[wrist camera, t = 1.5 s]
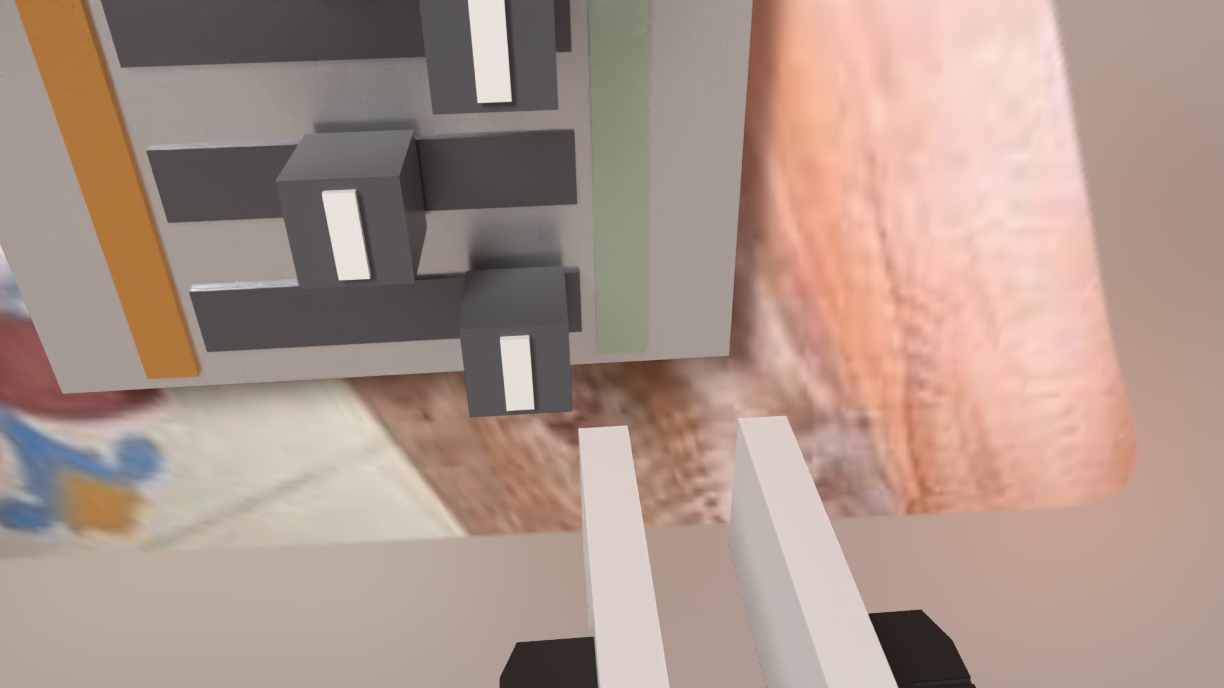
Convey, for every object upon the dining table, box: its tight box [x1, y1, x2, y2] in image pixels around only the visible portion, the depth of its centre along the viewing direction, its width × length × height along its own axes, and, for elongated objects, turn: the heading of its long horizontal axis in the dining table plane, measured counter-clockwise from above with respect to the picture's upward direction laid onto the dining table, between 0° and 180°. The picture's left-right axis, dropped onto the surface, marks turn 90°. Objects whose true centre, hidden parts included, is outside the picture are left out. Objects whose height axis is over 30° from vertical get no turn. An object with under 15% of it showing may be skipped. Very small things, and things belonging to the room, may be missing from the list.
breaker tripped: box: [275, 130, 427, 289], centre depth 24 cm, size 3×3×4 cm
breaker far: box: [459, 266, 572, 417], centre depth 27 cm, size 3×3×4 cm
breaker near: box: [419, 0, 559, 115], centre depth 22 cm, size 3×3×4 cm
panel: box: [0, 0, 753, 394], centre depth 27 cm, size 22×14×2 cm, turn 91°
